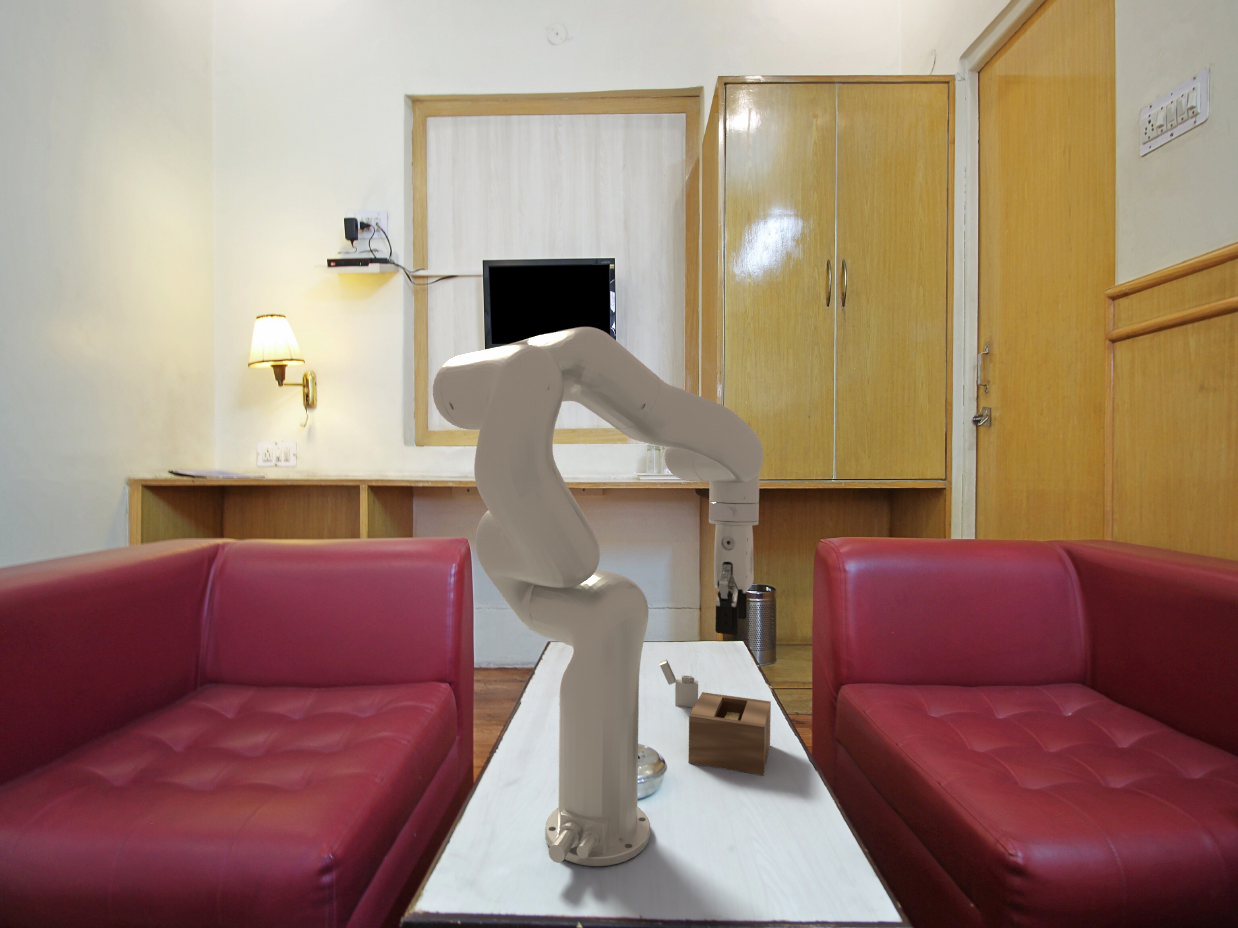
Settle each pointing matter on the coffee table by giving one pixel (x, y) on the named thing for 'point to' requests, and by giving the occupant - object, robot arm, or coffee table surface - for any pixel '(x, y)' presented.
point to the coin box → (730, 733)
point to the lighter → (681, 687)
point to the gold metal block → (732, 716)
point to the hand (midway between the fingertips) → (731, 625)
